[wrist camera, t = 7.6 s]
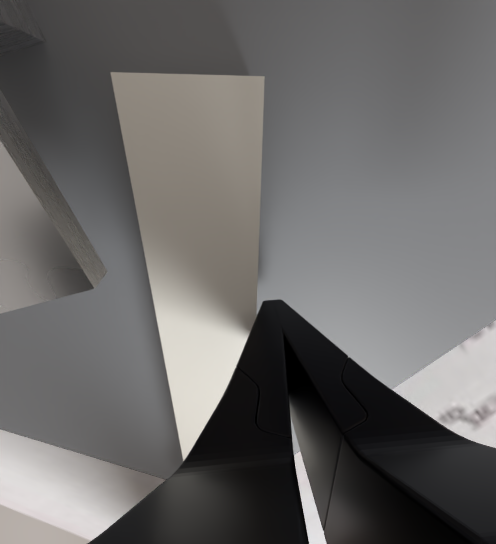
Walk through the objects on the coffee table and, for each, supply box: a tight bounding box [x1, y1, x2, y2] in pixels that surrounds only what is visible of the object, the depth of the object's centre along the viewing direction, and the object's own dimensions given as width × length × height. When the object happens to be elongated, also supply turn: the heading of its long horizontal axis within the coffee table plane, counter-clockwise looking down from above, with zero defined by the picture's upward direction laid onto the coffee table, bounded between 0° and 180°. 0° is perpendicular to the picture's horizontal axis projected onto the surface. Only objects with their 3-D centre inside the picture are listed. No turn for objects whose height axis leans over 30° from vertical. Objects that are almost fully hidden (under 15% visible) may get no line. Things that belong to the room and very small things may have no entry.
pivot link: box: [110, 72, 265, 461], centre depth 11 cm, size 20×4×2 cm, turn 179°
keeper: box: [0, 0, 108, 314], centre depth 6 cm, size 7×3×4 cm, turn 14°
